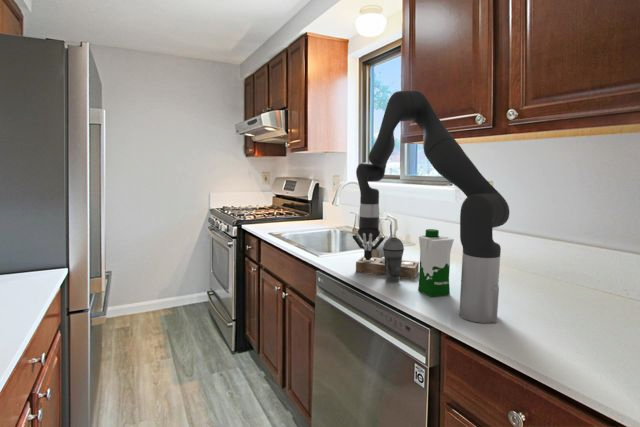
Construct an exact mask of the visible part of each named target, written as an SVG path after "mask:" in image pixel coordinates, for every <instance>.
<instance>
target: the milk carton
mask: <svg viewBox="0 0 640 427" xmlns="http://www.w3.org/2000/svg"><path fill="white" fill-rule="evenodd" d="M418 240H419V241H418V242H419V270H418V274H419V275H418V286H417V287H418V288H417V290H418V291H419V292H421V293H422V294H425V295H426V296H428V297H430V298H437V297H445V296H449V295H451V294H450V293H451V292H450V291H451V289H450V270H451V269H450V268H451V267H450V264H451V253H452V248H453V244H454V239H453V238H450V237H447V236H445V235H440V234H439V229H435V228H434V229H433V228H432V229H431V228H429V229H425V235H418Z"/></svg>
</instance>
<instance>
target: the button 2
mask: <svg viewBox="0 0 640 427" xmlns="http://www.w3.org/2000/svg"><path fill="white" fill-rule="evenodd" d="M401 265H405V266H413V263H411V262H402V263H401Z"/></svg>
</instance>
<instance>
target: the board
mask: <svg viewBox="0 0 640 427" xmlns="http://www.w3.org/2000/svg"><path fill="white" fill-rule="evenodd" d="M363 259H364V255H363V256H362V257H360V258H359V259H358V260H357V261H356V262H355V273H360V274H367V275H375V274H376V275H377V276H384V277H386V275H385V263H382V258H374V257H372V259H374V262H366V261H363ZM402 262H411V263H413V266H405V265H401V271H400V278H403V279H410V280H411V279H413V280H415V279H416V277H417V276H418V274H419V271H420V261H416V260H415V261H413V260H405V259H404V260H403V259H402ZM402 262H401V263H402Z"/></svg>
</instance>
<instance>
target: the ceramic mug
mask: <svg viewBox="0 0 640 427" xmlns="http://www.w3.org/2000/svg"><path fill="white" fill-rule="evenodd" d="M384 243H385V241H383V242H382V243H381V244H380V245H379V246H378V247H377V248H376V249H375V250H372V257H374V258H382V257H384V251H383V247H384ZM375 244H376V243H374V244H373V246H374V245H375Z"/></svg>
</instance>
